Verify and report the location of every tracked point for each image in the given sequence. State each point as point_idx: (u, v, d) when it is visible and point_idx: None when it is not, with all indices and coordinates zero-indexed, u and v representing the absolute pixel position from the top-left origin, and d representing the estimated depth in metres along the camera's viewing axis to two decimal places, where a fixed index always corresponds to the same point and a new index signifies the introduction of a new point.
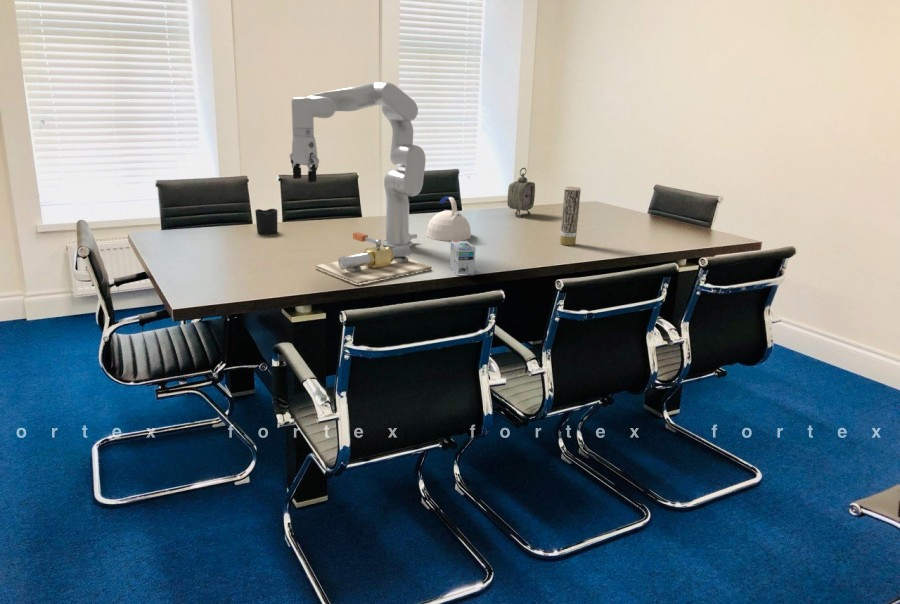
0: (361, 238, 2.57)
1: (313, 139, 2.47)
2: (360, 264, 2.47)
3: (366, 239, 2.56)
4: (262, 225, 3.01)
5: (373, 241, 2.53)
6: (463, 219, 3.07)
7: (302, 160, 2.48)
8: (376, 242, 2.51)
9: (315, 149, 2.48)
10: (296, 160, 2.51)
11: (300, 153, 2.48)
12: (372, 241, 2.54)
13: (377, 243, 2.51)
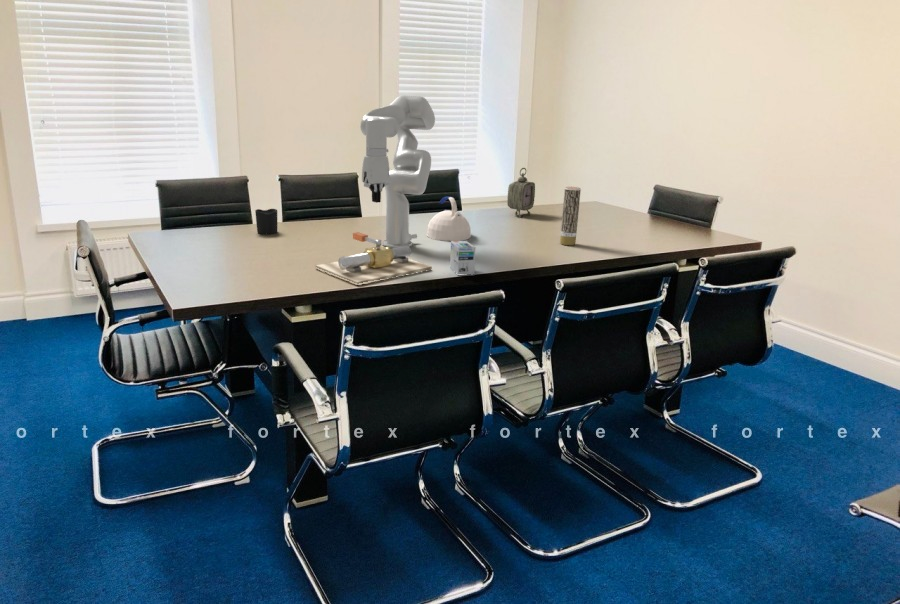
0: (361, 238, 2.57)
1: None
2: (360, 264, 2.47)
3: (366, 239, 2.56)
4: (262, 225, 3.01)
5: (373, 241, 2.53)
6: (463, 219, 3.07)
7: (384, 178, 2.58)
8: (376, 242, 2.51)
9: None
10: (376, 180, 2.55)
11: (383, 172, 2.56)
12: (372, 241, 2.54)
13: (377, 243, 2.51)
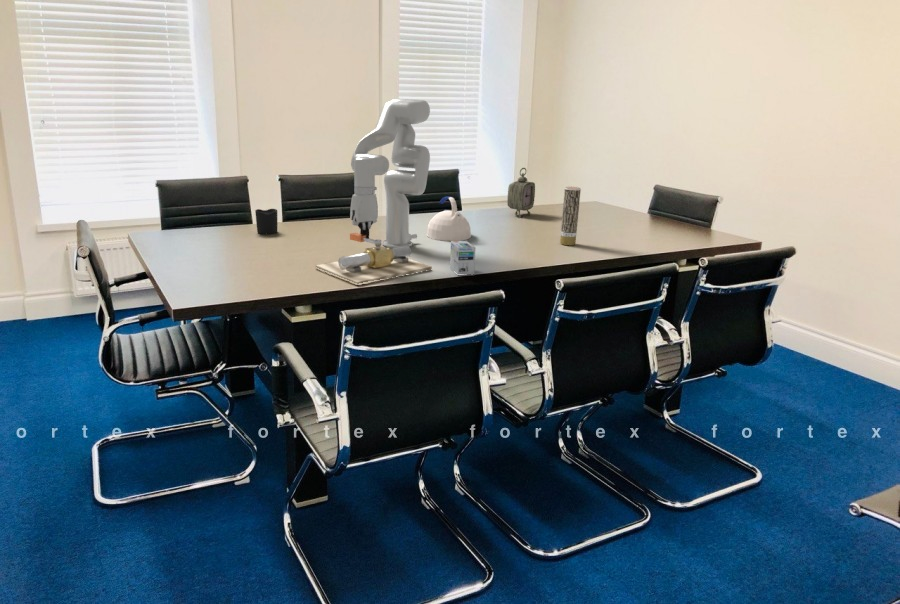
0: (360, 238, 2.56)
1: None
2: (360, 264, 2.47)
3: (365, 239, 2.56)
4: (262, 225, 3.01)
5: (373, 241, 2.53)
6: (463, 219, 3.07)
7: (373, 216, 2.58)
8: (376, 242, 2.51)
9: None
10: (364, 218, 2.56)
11: (372, 210, 2.57)
12: (371, 241, 2.53)
13: (377, 243, 2.51)
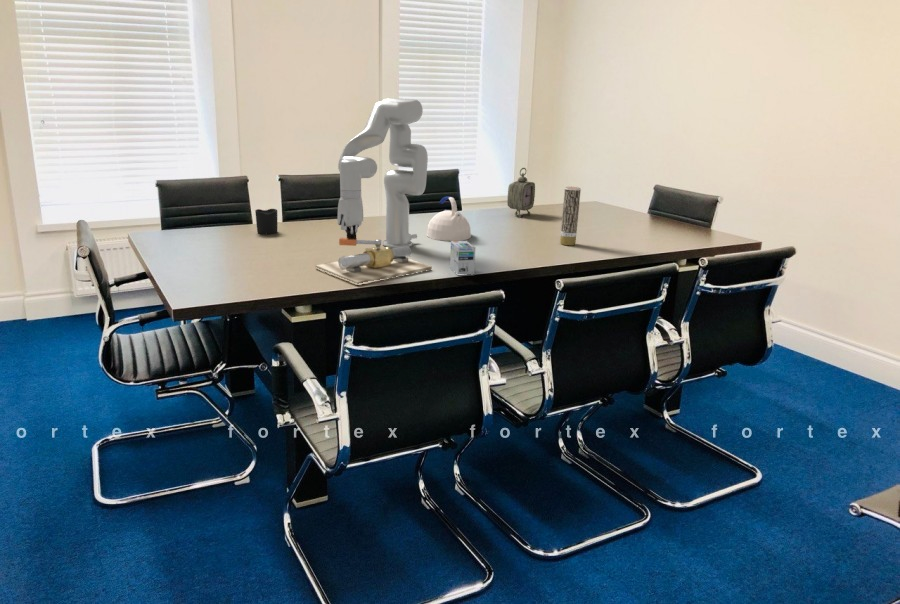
0: (355, 242, 2.51)
1: None
2: (360, 264, 2.47)
3: (360, 242, 2.52)
4: (262, 225, 3.01)
5: (372, 242, 2.52)
6: (463, 219, 3.07)
7: (359, 219, 2.54)
8: (379, 242, 2.51)
9: None
10: (352, 222, 2.51)
11: (359, 213, 2.52)
12: (370, 242, 2.52)
13: (380, 243, 2.51)
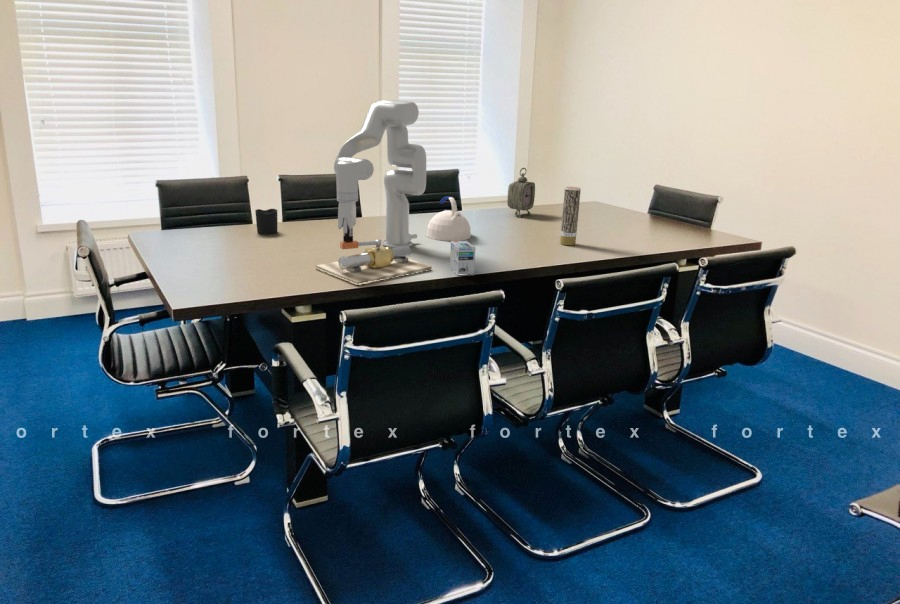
0: (357, 244, 2.47)
1: None
2: (360, 264, 2.47)
3: (361, 244, 2.49)
4: (262, 225, 3.01)
5: (373, 243, 2.51)
6: (463, 219, 3.07)
7: (355, 221, 2.50)
8: (380, 242, 2.51)
9: None
10: (352, 225, 2.47)
11: (355, 215, 2.49)
12: (371, 243, 2.50)
13: (380, 243, 2.52)
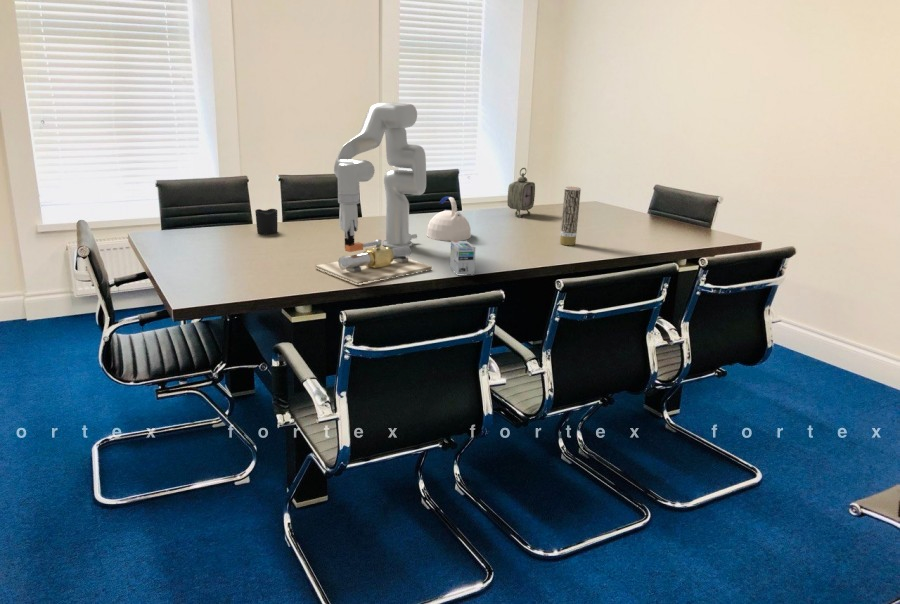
0: (362, 246, 2.45)
1: None
2: (360, 264, 2.47)
3: (365, 245, 2.47)
4: (262, 225, 3.01)
5: (374, 243, 2.50)
6: (463, 219, 3.07)
7: None
8: (380, 242, 2.52)
9: None
10: None
11: None
12: (373, 244, 2.50)
13: None
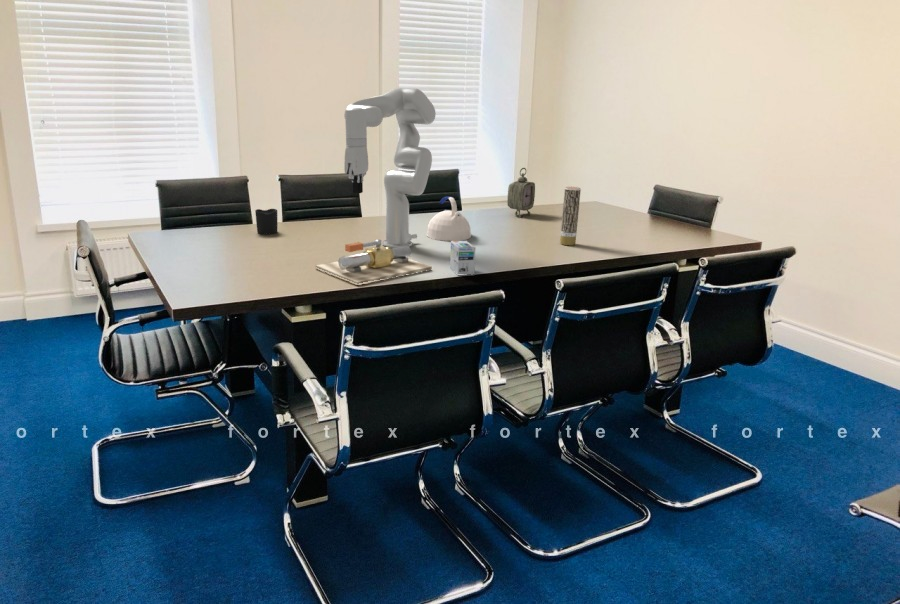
0: (362, 246, 2.45)
1: None
2: (360, 264, 2.47)
3: (365, 245, 2.47)
4: (262, 225, 3.01)
5: (374, 243, 2.50)
6: (463, 219, 3.07)
7: (365, 168, 2.55)
8: (380, 242, 2.52)
9: None
10: (359, 171, 2.52)
11: (365, 161, 2.54)
12: (373, 244, 2.50)
13: None
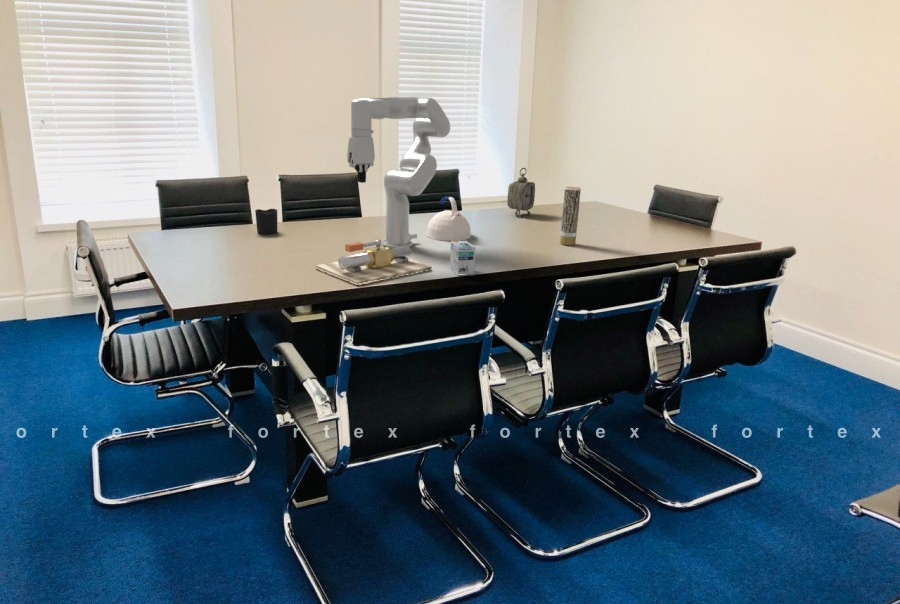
0: (362, 246, 2.45)
1: None
2: (360, 264, 2.47)
3: (365, 245, 2.47)
4: (262, 225, 3.01)
5: (374, 243, 2.50)
6: (463, 219, 3.07)
7: (369, 159, 2.63)
8: (380, 242, 2.52)
9: None
10: (361, 161, 2.61)
11: (368, 152, 2.62)
12: (373, 244, 2.50)
13: None
